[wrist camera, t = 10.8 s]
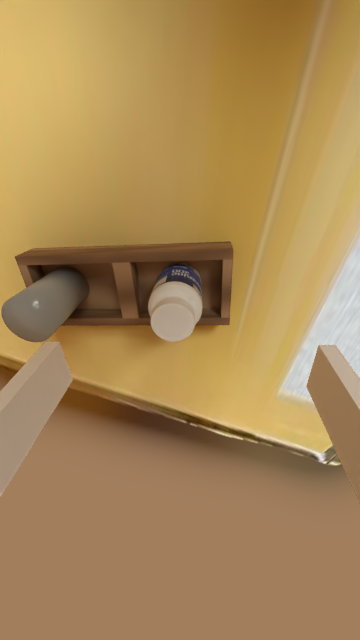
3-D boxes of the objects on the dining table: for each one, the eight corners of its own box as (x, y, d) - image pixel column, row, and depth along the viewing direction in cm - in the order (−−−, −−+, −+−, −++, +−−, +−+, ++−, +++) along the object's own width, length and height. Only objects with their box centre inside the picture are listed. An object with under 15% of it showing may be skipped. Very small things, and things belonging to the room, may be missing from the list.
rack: (33, 248, 31) (14, 256, 28) (230, 241, 29) (233, 249, 26) (55, 312, 36) (41, 325, 33) (227, 311, 33) (229, 324, 30)
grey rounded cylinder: (45, 266, 31) (-8, 297, 23) (84, 265, 31) (43, 296, 23) (57, 302, 34) (13, 342, 26) (93, 302, 33) (59, 342, 25)
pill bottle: (210, 279, 30) (216, 320, 22) (183, 310, 32) (178, 357, 24) (175, 251, 29) (165, 283, 20) (149, 285, 31) (130, 326, 23)
